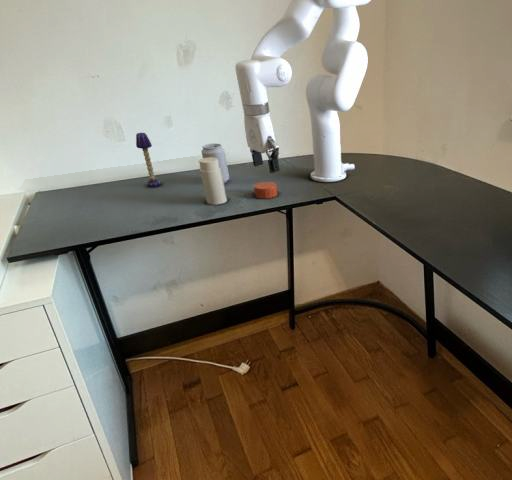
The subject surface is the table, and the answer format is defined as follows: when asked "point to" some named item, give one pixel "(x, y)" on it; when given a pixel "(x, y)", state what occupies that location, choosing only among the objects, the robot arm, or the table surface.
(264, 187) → the jar lid
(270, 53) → the robot arm
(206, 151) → the can
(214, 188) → the jar
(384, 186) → the table surface
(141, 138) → the toy lamp
